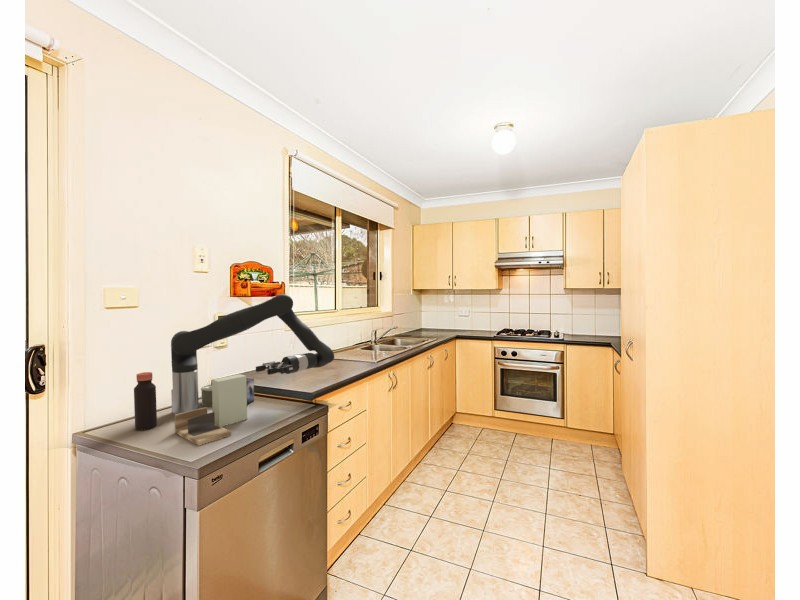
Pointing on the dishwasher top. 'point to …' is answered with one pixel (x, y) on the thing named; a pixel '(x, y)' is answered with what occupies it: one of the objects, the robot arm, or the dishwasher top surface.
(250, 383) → the small box
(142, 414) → the bottle
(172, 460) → the dishwasher top surface
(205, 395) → the can
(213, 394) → the book
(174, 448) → the dishwasher top surface
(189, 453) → the dishwasher top surface
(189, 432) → the rack
